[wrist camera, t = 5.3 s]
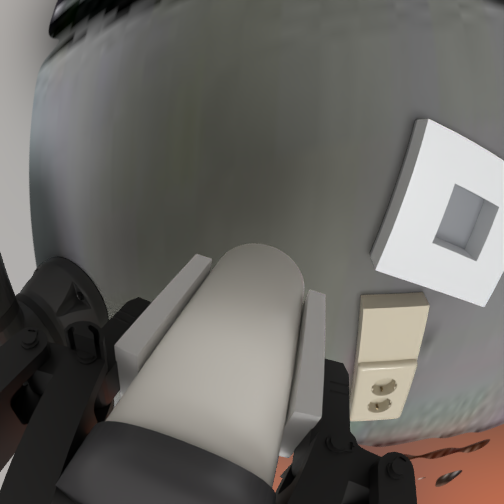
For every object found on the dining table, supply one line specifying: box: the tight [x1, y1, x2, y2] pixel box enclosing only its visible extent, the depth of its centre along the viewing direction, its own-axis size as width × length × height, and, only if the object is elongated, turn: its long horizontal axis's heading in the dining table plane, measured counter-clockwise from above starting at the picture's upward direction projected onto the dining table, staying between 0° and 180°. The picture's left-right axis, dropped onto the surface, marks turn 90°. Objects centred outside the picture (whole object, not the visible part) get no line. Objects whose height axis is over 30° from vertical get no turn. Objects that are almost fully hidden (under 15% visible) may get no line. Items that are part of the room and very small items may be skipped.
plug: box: [56, 243, 304, 504], centre depth 9 cm, size 5×5×12 cm
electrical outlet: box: [349, 292, 430, 421], centre depth 31 cm, size 7×4×18 cm
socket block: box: [370, 119, 504, 307], centre depth 23 cm, size 14×14×4 cm
